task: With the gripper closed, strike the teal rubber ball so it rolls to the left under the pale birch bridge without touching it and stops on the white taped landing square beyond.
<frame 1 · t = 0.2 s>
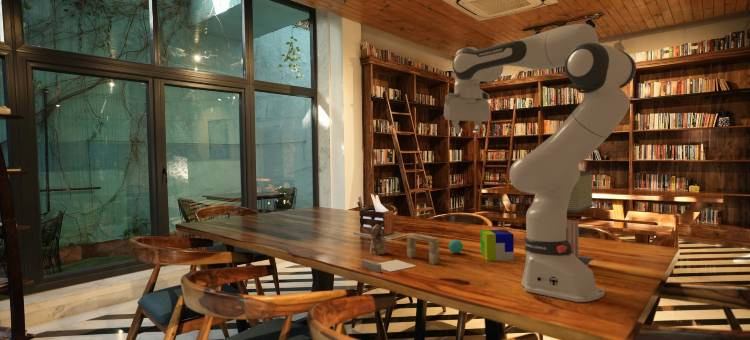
hand: (467, 133, 150), 48 cm above the table, tool pointing down, fingers open, 8 cm apart
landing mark: (393, 265, 153), on the table
stopper strip: (371, 269, 148), on the table
puzzle toy: (496, 258, 163), on the table
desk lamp: (565, 267, 147), on the table
ball: (455, 246, 171), on the table
figurine: (378, 253, 175), on the table
bridge: (422, 259, 161), on the table
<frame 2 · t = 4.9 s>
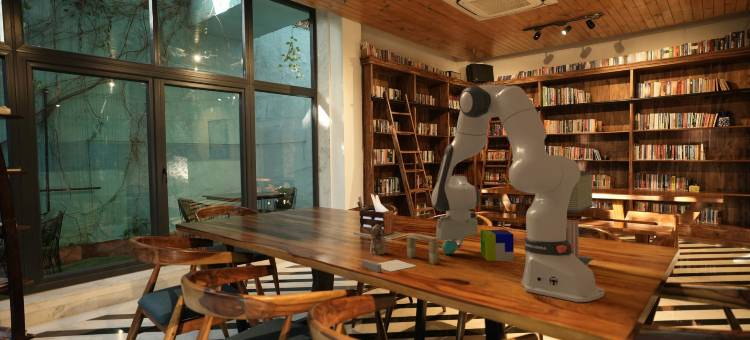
hand: (457, 248, 172), 2 cm above the table, tool pointing down, fingers closed
ball: (449, 247, 169), on the table
everything else where it was.
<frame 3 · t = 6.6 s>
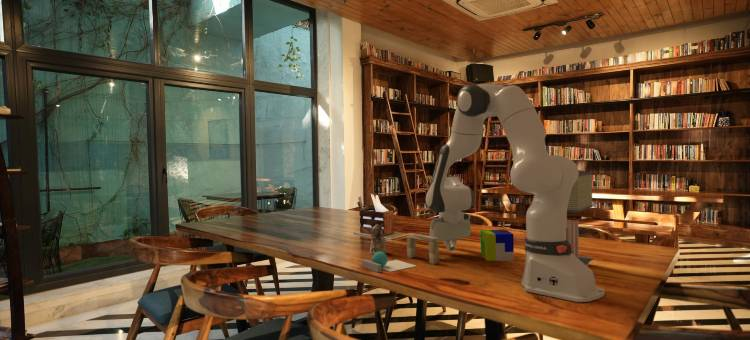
hand: (450, 250, 169), 2 cm above the table, tool pointing down, fingers closed
ball: (379, 259, 151), on the table
everything else where it was.
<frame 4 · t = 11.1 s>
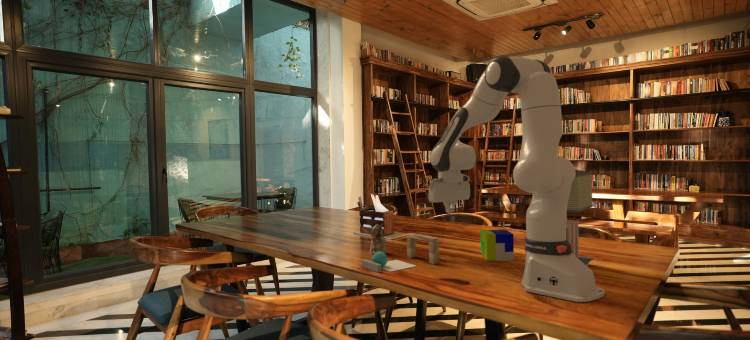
hand: (449, 212, 169), 17 cm above the table, tool pointing down, fingers closed
nothing on the table moved.
at the end: ball 5.1 cm from the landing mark (horizontally); ball never touched bridge; ball at rest at the end (0.0 cm/s) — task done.
